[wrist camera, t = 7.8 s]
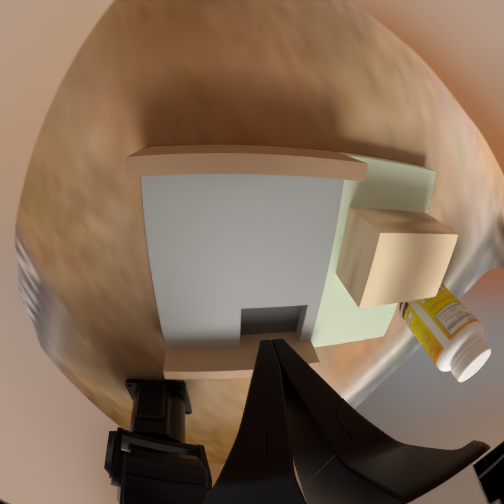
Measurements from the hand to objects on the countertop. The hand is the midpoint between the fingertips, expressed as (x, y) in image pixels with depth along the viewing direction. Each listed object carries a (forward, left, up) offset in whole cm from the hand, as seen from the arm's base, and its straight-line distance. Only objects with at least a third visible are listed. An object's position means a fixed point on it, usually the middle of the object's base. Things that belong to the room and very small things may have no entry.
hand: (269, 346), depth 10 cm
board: (-2, -4, -10) cm, 11 cm away
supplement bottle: (-7, -18, -10) cm, 22 cm away
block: (0, -10, -9) cm, 13 cm away
